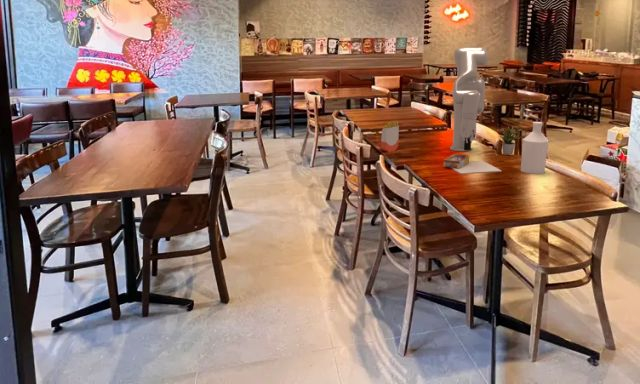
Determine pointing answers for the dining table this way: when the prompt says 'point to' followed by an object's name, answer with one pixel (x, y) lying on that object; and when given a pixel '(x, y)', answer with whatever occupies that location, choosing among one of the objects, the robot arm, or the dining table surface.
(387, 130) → the french fries container
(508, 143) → the house plant
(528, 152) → the bottle
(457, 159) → the candy box
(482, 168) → the felt mat
